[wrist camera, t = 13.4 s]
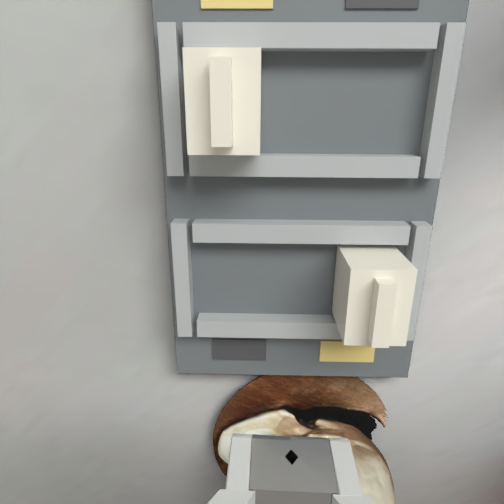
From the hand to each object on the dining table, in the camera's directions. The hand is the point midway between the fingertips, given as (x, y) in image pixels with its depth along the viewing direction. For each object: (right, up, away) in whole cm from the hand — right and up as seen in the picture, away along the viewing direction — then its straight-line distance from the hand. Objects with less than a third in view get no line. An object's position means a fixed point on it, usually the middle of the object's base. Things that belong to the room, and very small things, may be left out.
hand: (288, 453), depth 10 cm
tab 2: (+5, +4, +12) cm, 13 cm away
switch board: (+2, +8, +11) cm, 14 cm away
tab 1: (-2, +12, +9) cm, 15 cm away
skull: (+2, -7, +18) cm, 19 cm away
